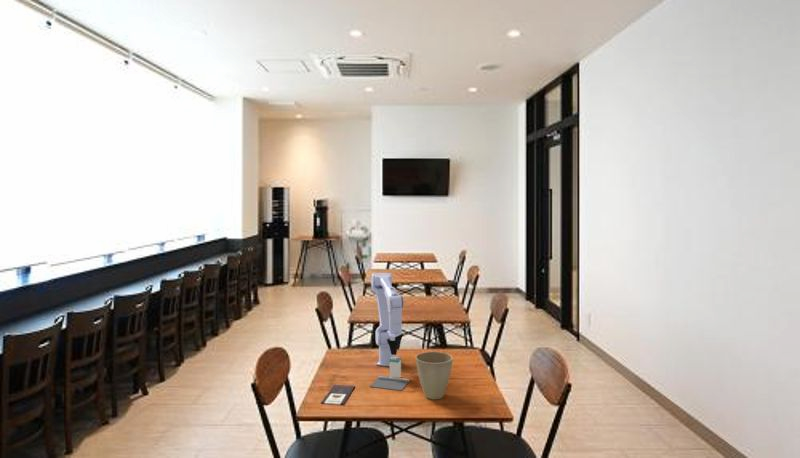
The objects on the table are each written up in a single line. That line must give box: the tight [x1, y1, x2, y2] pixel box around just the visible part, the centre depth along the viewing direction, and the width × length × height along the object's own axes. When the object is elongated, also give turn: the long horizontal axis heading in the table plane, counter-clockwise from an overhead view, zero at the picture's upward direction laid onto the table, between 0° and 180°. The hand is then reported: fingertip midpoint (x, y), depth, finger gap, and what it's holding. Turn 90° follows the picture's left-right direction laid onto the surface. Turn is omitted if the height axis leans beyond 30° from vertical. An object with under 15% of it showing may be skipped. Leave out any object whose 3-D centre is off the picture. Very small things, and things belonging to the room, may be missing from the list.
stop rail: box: [376, 375, 410, 383], centre depth 214 cm, size 2×14×1 cm, turn 73°
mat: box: [369, 379, 409, 392], centre depth 209 cm, size 9×14×1 cm, turn 73°
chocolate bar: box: [320, 384, 355, 406], centre depth 198 cm, size 9×1×18 cm
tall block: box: [389, 356, 402, 378], centre depth 216 cm, size 4×4×9 cm
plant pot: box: [415, 351, 454, 400], centre depth 197 cm, size 15×15×16 cm
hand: (395, 351), depth 221 cm, fingers open, 7 cm apart
